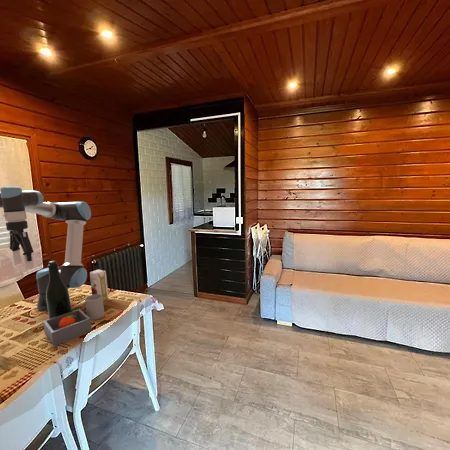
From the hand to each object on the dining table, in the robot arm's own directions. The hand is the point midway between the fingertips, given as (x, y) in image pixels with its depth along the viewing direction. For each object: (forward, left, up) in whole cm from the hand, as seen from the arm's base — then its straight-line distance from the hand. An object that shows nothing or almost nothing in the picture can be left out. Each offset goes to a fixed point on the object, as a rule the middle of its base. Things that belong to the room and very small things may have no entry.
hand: (23, 265), depth 117 cm
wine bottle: (-5, +13, -35) cm, 37 cm away
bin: (+11, +11, -34) cm, 38 cm away
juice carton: (-15, +36, -35) cm, 52 cm away
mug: (+3, +27, -35) cm, 44 cm away
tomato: (+11, +12, -34) cm, 37 cm away
